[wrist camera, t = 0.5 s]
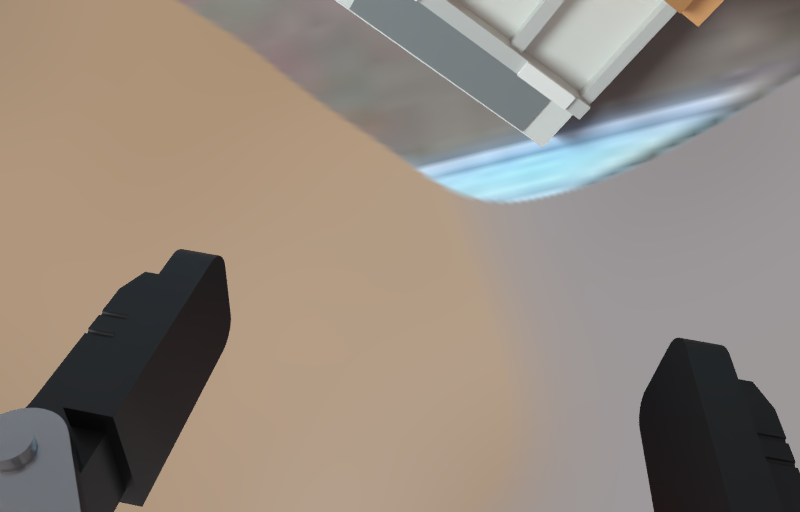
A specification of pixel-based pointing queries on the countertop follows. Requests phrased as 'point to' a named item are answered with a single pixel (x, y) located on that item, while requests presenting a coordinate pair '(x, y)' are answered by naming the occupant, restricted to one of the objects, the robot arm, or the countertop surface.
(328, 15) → the countertop surface
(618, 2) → the switch bank
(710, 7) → the tab
